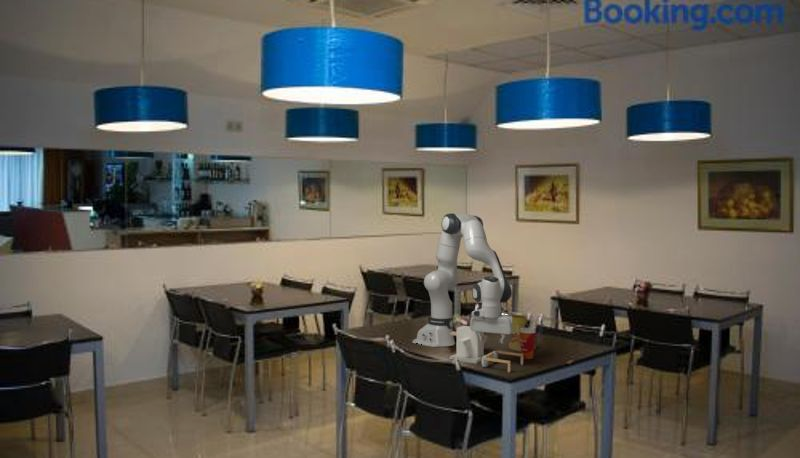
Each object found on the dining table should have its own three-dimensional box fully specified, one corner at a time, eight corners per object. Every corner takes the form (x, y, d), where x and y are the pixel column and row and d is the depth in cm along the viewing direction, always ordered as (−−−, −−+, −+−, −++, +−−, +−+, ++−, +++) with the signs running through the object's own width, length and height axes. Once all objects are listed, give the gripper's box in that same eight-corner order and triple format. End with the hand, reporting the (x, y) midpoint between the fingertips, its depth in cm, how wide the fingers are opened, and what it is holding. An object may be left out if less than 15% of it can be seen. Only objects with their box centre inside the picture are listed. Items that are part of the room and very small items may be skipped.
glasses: (509, 372, 291) (509, 360, 291) (481, 368, 299) (481, 356, 298) (523, 364, 305) (523, 353, 305) (495, 360, 313) (496, 349, 312)
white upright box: (490, 358, 316) (491, 328, 315) (477, 365, 303) (478, 334, 303) (456, 354, 325) (457, 324, 324) (443, 360, 313) (443, 329, 312)
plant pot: (526, 332, 379) (526, 315, 378) (526, 335, 368) (527, 318, 368) (508, 331, 380) (508, 314, 380) (507, 335, 370) (508, 317, 370)
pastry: (524, 344, 348) (524, 329, 348) (540, 350, 335) (541, 334, 334) (502, 346, 343) (502, 331, 343) (518, 352, 329) (518, 336, 329)
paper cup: (517, 356, 321) (517, 327, 321) (532, 355, 322) (532, 327, 321) (521, 360, 314) (521, 330, 313) (537, 359, 314) (537, 330, 314)
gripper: (515, 312, 301) (515, 343, 302) (474, 309, 312) (474, 339, 312) (510, 315, 296) (510, 345, 296) (468, 311, 306) (468, 341, 307)
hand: (491, 342), depth 305 cm, fingers open, 8 cm apart
